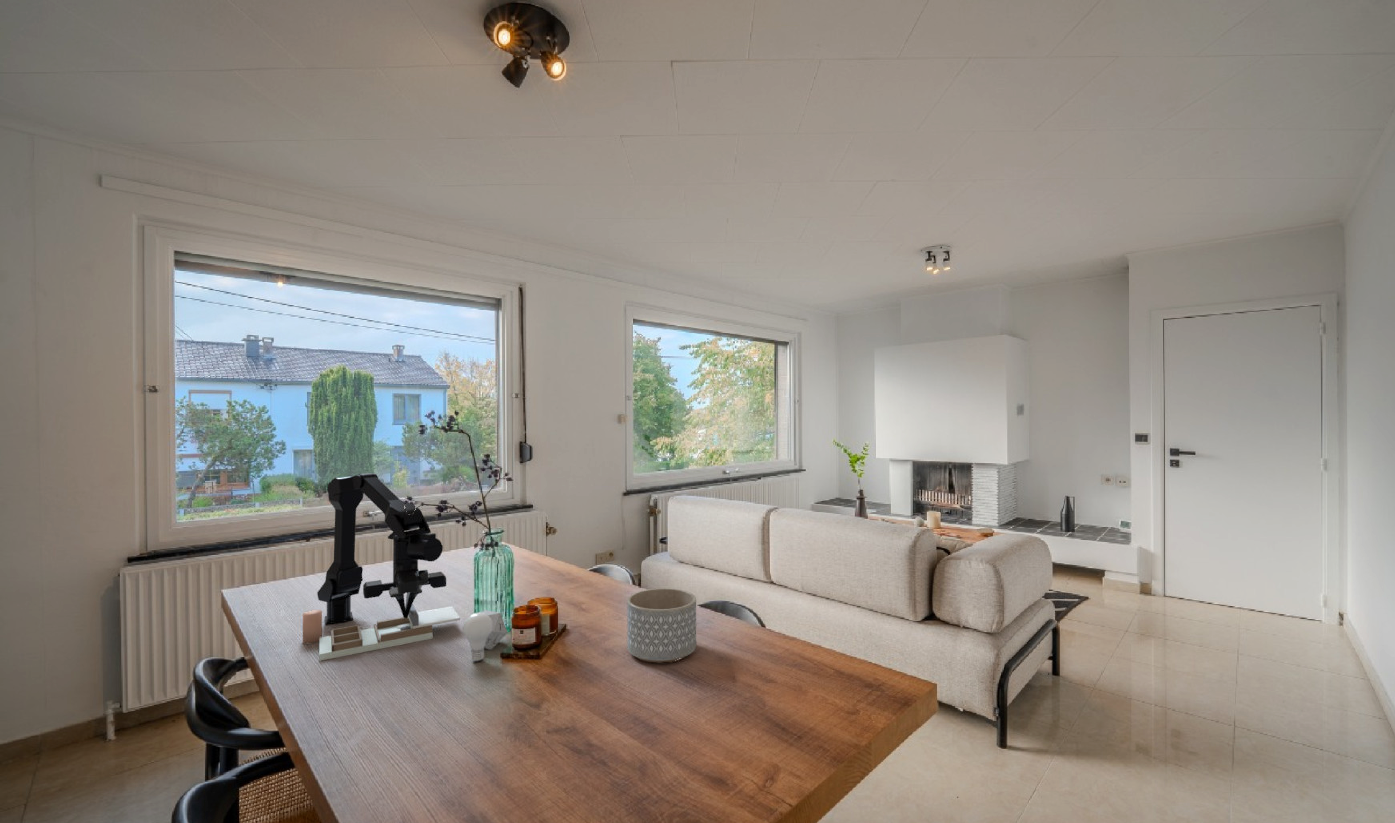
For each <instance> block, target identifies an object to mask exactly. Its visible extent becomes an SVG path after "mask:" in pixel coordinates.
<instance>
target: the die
mask: <svg viewBox="0 0 1395 823" xmlns="http://www.w3.org/2000/svg"><path fill="white" fill-rule="evenodd" d="M480 612H481V613H485V614H487V615H488V616H489V617H490V618H491V620H492V624H493V626H492V631H491V633H490V635H489V636H488V638H487V640H486V644H485V647H484V650H490V651H491V650H493V649H494V647H495V646H497V644H498V643H499V642H501V640H502V639H503V638H504V637H505V636H507V634H508V633H509V632H508V630H507V627H506V624H505V622H504V619H503V617H502V614H501V612H497V611H492V610H485V609H483V611H480Z"/></svg>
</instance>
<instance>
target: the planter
mask: <svg viewBox="0 0 1395 823" xmlns="http://www.w3.org/2000/svg"><path fill="white" fill-rule="evenodd" d="M696 598H697V597H696V595H695V594H693V593H692V592H689V591H686V590H682V589H677V588H652V589H646V590H640V591H637V592H634V593H633V594H631V595H629V597H628V598H627V606H626V607H627V615H626V616H627V626H626V627H627V631H626V632H627V637H626V638H627V640H626V641H627V646H626V647H627V651H628V652H629V654H631V656H634V657H636V658H637V659H639V660H641V661H643V662H645V663H646V662H647V663H651V662H670V663H672V662H671V661H675V660H677V659H679V658H683V657H685V656H686V657H688V656H690V655H691V654H692V653H694V652H695V651H696V649H697V599H696ZM686 657H685V658H686ZM683 659H684V658H683ZM675 662H676V661H675Z"/></svg>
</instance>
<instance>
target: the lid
mask: <svg viewBox="0 0 1395 823" xmlns="http://www.w3.org/2000/svg"><path fill="white" fill-rule="evenodd" d="M408 618H409V620H410V622H411V625H412V627H413V629H415V628H420V627H425V626H431V625H432V626H435V625H441V624H446V623H451V622H452V623H453V622H458V621H460V620H461V617H460V616H459V614H458V613H457V612H456V610H455V609H454V607H453V606H452V605H451V606H445V607H439V608H433V609H429V610H428V609H426V610H422V611H417V610H416V608H415V606H414V603H412V606H411V609H410V612H409V615H408Z"/></svg>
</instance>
